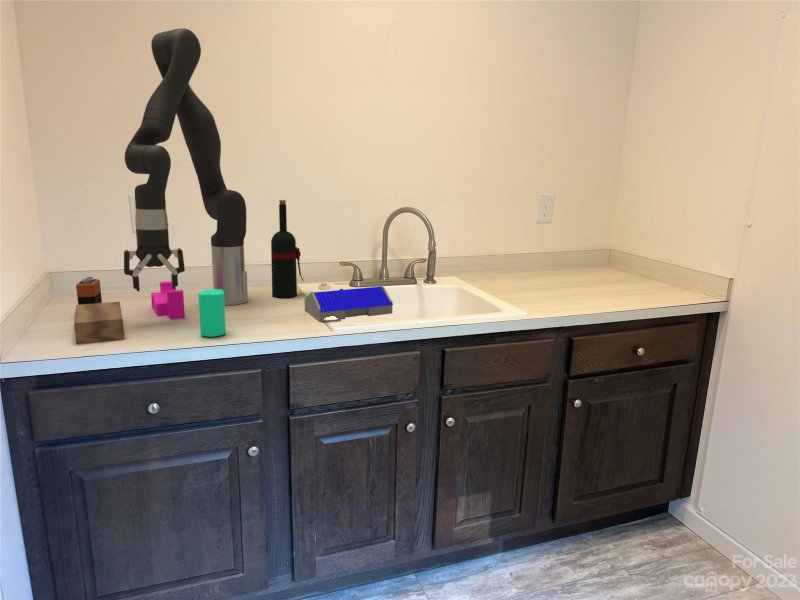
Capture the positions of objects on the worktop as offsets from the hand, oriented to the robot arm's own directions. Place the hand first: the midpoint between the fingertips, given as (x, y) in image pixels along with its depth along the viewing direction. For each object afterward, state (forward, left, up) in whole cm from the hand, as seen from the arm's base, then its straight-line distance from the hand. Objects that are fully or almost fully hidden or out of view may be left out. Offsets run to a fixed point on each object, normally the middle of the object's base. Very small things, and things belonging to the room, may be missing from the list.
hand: (156, 289), depth 150 cm
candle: (-11, +15, -9) cm, 21 cm away
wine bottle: (-40, -16, -9) cm, 44 cm away
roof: (-50, +9, -9) cm, 52 cm away
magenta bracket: (-3, -9, -9) cm, 14 cm away
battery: (+16, -15, -9) cm, 23 cm away
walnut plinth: (+14, +3, -9) cm, 17 cm away
